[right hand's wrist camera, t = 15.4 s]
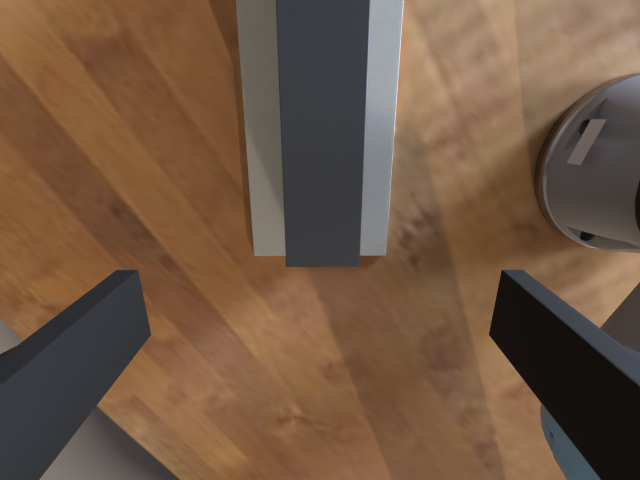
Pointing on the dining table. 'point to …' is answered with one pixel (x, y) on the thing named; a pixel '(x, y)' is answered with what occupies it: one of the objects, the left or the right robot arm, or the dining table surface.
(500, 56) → the dining table surface
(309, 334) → the dining table surface
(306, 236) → the beam
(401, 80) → the dining table surface
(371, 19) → the mat
